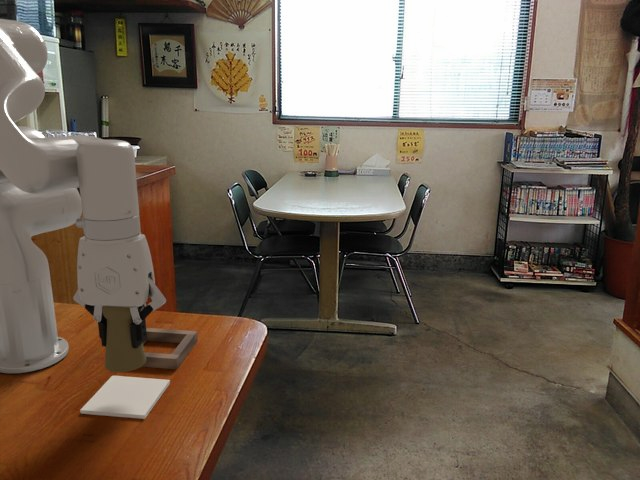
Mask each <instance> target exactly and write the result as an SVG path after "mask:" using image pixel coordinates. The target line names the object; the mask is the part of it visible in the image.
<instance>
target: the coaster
mask: <svg viewBox="0 0 640 480" xmlns="http://www.w3.org/2000/svg"><path fill="white" fill-rule="evenodd" d="M169 385H171V380H170V379H165V378H164V379H162V378H152V377H151V378H149V377H148V378H147V377H137V376H136V377H135V376H123V375H112V376H110V377H109V379H107V381H105V382H104V384H103V385H102V386H101V387H100V388H99V389H98V390H97V391H96V392H95V394H93V396H92V397H90V399H89V400H88V401H87V402H86V403H85V404H84V405H83V406H82V408H80V411H79V412H80V414H82V415H83V414H84V415H93V416H94V415H95V416H108V417H117V418H131V419H140V420H141V419H142V420H145V419H146V418H147V416H148V415H149V414H150V412H151V411H152V410H153V409H154V407H155V405H156V404H157V403H158V401H159V399H160V398H161V397H162V396H163V394H164V392H166V390H167V389H168V387H169Z"/></svg>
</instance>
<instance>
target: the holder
mask: <svg viewBox="0 0 640 480" xmlns="http://www.w3.org/2000/svg"><path fill="white" fill-rule="evenodd" d="M146 332H147V337H146V339H145V341H144V342H143V346H144V345H145V344H146V343H147V342H156V343H157V342H159V343H160V342H161V343H170V344H171V343H173V344H178V345H177V347H176V348H175V349H174V350H173V352H172V353H163V352H162V353H160V352H159V353H158V352H145V356H146V362H145V364H144V365H143V366H141V367H142V368H143V367H145V368H154V369H155V368H156V369H157V368H158V369H168V370H170V369H171V370H178V369H179V367H180V366H181V365H182V363H183V362H184V360H185V359H186V358H187V356H188V355H189V353H190V352H191V351H192V350H193V347H194V346H195V345H196V344H197V342H198V339H199V337H198V331H196V330H182V329H171V328H169V329H167V328H155V327H152V328H151V327H146ZM141 367H140V368H141Z"/></svg>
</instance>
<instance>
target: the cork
mask: <svg viewBox="0 0 640 480" xmlns="http://www.w3.org/2000/svg"><path fill="white" fill-rule="evenodd" d="M102 313H103V315H104V317H105V318H106V319H107V330H106V347H105V352H104V353H105V356H104V357H105V359H104V367H105V369H106V370H108V371H109V372H111V373H112V372H113V373H129V372H131V371H132V372H133V371H135V370H138V369H140V368H141V366H143V365H144V364H145V362H146V356H145V348H144V345H143V343H142V344H141V345H140V346H139V347H138V348H137V349H136V348H133V347H132V343H131V332H130V325H131V324H132V323H133V319H132V315H131V312H130V308H129V307H109V306H102Z"/></svg>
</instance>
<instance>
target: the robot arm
mask: <svg viewBox="0 0 640 480" xmlns="http://www.w3.org/2000/svg"><path fill="white" fill-rule="evenodd" d="M48 54H49V53H48V47H47V45H46V42H45V40H44V38H43V37H42V35H41V34H40V33H39V31H38V30H37V29H36V28H35V27H33V26H32V25H30V24H28V23H26V22H23V21H20V20H14V19H6V18H5V19H4V18H0V373H2V374H3V373H4V374H25V373H31V372H35V371H38V370H42V369H46V368H47V367H51V366H53V365H55V364H56V363H58V362H60V361H61V360H62V359H64V358H65V357H66V356H67V354H68V352H69V351H70V350H69V348H70V347H69V342H68V341H67V339H65V338H63V337H61V336H58V327H57V320H56V319H57V318H56V313H55V305H54V295H53V288H52V287H53V286H52V281H51V272H50V266H49V261H48V258H47V256H46V254H45V252H44V251H43V250H42V249H41V248H40V247H38V246H37V245H36V244H35V242H33V240H32V237H33V236H34V237H35V236H37V235H41V234H43V233H49V232H53V231H56V230H61V229H64V228H68V227H70V226H73V225H75V226H76V227H77V228H80V229H82V231H83V235H84V236H81V237H80V238H79V241H78V248H77V259H76V260H77V261H76V275H77V276H76V278H77V291H76V292H75V294H74V295H73V301H74V302H76V303H77V304H79V305H80V306H82V307H84V308H85V309H86V311H87V312H88V313H90V315H92V316H93V321H94V322H97V325H98V334H99V335H98V336H99V339H100V340H101V347H105V348H106V330H107V319H106V318H105V317H104V315H103V313H102V306H109V307H129V308H130V312H131V315H132V319H133V323H132V324H131V325H130V332H131V343H132V347H133V348H136V349H137V348H138V347H139V346H140V345H141V344H142V343H143V342H144V341H145V339H146V337H147V332H146V328H147V321H146V320H147V319H146V318H148V316H149V315H150V314H151V313H153V312H155V311H156V310H158V309H159V308H162V306H163V305H164V304H166V302H167V299H166V297H165V296H164V294H163V293H162V291H161V290H160V289H159V288H158V286H157V285H156V278H155V271H154V265H153V261H152V260H153V259H152V255H151V250H150V247H149V244H148V240H147V238H146V235H145V234H143V233H142V232H141V231H142V230H141V221H140V220H141V218H140V207H139V206H140V204H139V196H138V195H139V194H138V183H137V171H136V158H135V152H134V150H135V149H134V148H133V146H132V145H131V143H130V142H128V141H126V140H120V139H103V138H100V137H97V136H93V135H84V134H83V135H80V134H79V135H69V136H68V135H61V136H59V135H58V136H47V137H46V136H45V135H44V134H43V133H41V132H40V131H39V130H37V129H36V128H34V127H33V128H32V127H31V126H25V125H23V126H21V125H16V122H18V121H20V120H22V119H24V118H26V117H28V116H29V115H30V114H32V113H33V112H34V111H36V110H37V109H38V108H39V107H40V105H41V104H42V103H43V100H44V98H45V95H46V94H45V93H46V86H45V84H44V82H43V80H42V78H41V77H40V75H39V73H41V72H42V71H43V70H44V69H45V67H46V66H47V62H48ZM78 189H79V190H78ZM148 298H150V299H151V302H148V304H147V303H146V302H147V301H148ZM85 309H84V310H85Z"/></svg>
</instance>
